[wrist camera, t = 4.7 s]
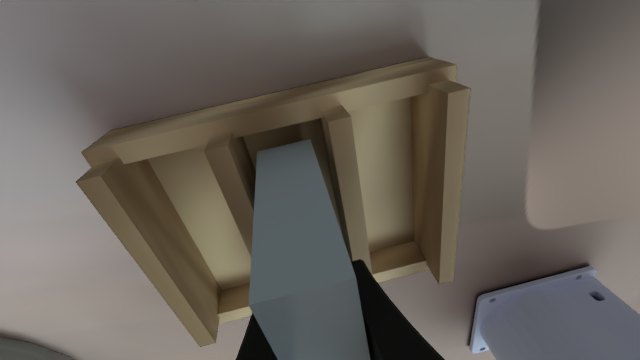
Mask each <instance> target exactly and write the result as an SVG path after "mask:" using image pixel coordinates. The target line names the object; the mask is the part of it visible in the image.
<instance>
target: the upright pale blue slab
mask: <svg viewBox="0 0 640 360" xmlns="http://www.w3.org/2000/svg"><path fill="white" fill-rule="evenodd" d="M249 307H250V309H251V311H252V312H253V314H254V316H255V318H256V320H257V322H258V324H259V326H260V327H261V329H262V331H263V333H264V335H265V337H266V339H267V340H268V342H269V344H270V346H271V348H272V350H273V352H274V354H275V355H276V357H277V359H278V360H370V355H369V349H368V343H367V337H366V332H365V326H364V320H363V315H362V309H361V303H360V297H359V292H358V286H357V280H356V276H355V273H354V270H353V267H352V264H351V261H350V258H349V255H348V252H347V249H346V246H345V242H344V239H343V236H342V233H341V230H340V227H339V224H338V221H337V218H336V215H335V212H334V209H333V206H332V203H331V200H330V197H329V194H328V191H327V188H326V185H325V182H324V179H323V176H322V173H321V170H320V167H319V164H318V161H317V158H316V155H315V152H314V149H313V146H312V143H311V140H310V139H308V140H303V141H299V142H295V143H291V144H287V145H282V146H278V147H274V148H270V149H266V150H261V151H257V164H256V182H255V200H254V218H253V236H252V253H251V271H250V289H249Z"/></svg>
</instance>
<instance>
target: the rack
mask: <svg viewBox="0 0 640 360" xmlns="http://www.w3.org/2000/svg"><path fill="white" fill-rule="evenodd" d="M456 71H457V64H453V63H449V62H446V61H442V60H438V59H435V58H431V57H426V58H422V59H418V60H413V61H409V62H405V63H400V64H396V65H392V66H387V67H383V68H379V69H375V70H370V71H366V72H362V73H357V74H353V75H349V76H344V77H340V78H336V79H331V80H327V81H323V82H318V83H314V84H310V85H305V86H301V87H297V88H292V89H288V90H284V91H279V92H275V93H271V94H266V95H262V96H258V97H254V98H249V99H245V100H241V101H236V102H232V103H228V104H223V105H219V106H215V107H210V108H206V109H202V110H197V111H193V112H189V113H184V114H180V115H176V116H171V117H167V118H163V119H158V120H154V121H150V122H146V123H141V124H137V125H133V126H128V127H124V128H120V129H115V130H111V131H109V132H108V133H106V134H105V135H104V136H102V137H101V138H100V139H98V140H97V141H96V142H94V143H93V144H92V145H90V146H89V147H87V148H86V149H85V150H83V151H82V152H81V153H82V154H83V156H84V157H85V159H86V160H87V162H88V163H89V164H90V166H91V167H92V168H91V169H90V170H89V171H87V172H86V173H85V174H84V175H83V176H82V177H80V178H79V179H78V180H77V181H76V183H77V184H78V186H79V187H80V188H81V190H82V191H83V192H84V194H85V195H86V196H87V198H88V199H89V200H90V202H91V203H92V204H93V206H94V207H95V208H96V210H97V211H98V212H99V214H100V215H101V216H102V218H103V219H104V220H105V221H106V223H107V224H108V225H109V227H110V228H111V229H112V231H113V232H114V233H115V235H116V236H117V237H118V239H119V240H120V241H121V243H122V244H123V245H124V247H125V248H126V249H127V251H128V252H129V253H130V255H131V256H132V257H133V259H134V260H135V261H136V263H137V264H138V265H139V267H140V268H141V269H142V271H143V272H144V273H145V275H146V276H147V277H148V279H149V280H150V281H151V283H152V284H153V285H154V287H155V288H156V289H157V291H158V292H159V293H160V295H161V296H162V297H163V299H164V300H165V301H166V302H167V304H168V305H169V306H170V308H171V309H172V310H173V312H174V313H175V314H176V316H177V317H178V318H179V320H180V321H181V322H182V324H183V325H184V326H185V328H186V329H187V330H188V332H189V333H190V334H191V336H192V337H193V338H194V340H195V341H196V342H197V344H198V345H199V346H200V347H202V346H206V345H209V344H213V343H216V337H217V331H218V325H219V324H221V323H225V322H229V321H233V320H236V319H240V318H244V317H248V316H251V315H252V311H251V309H250V307H249V289H250V271H251V253H252V236H253V218H254V200H255V182H256V164H257V151H261V150H266V149H270V148H274V147H278V146H282V145H287V144H291V143H295V142H299V141H303V140H308V139H310V140H311V143H312V146H313V149H314V152H315V155H316V158H317V161H318V164H319V167H320V170H321V173H322V176H323V179H324V182H325V185H326V188H327V191H328V194H329V197H330V200H331V203H332V206H333V209H334V212H335V215H336V218H337V221H338V224H339V227H340V230H341V233H342V236H343V239H344V242H345V246H346V249H347V252H348V255H349V258H350V261H355V260H359V259H361V260H363V261H364V262H365V264H366V266H367V268H368V269H369V271H370V272H371V274H372V276H373V277H374V278H375V280H376V281H377V283H379V282H383V281H387V280H391V279H395V278H398V277H402V276H406V275H410V274H414V273H418V272H422V271H425V270H429V269H430V271H431V272H432V274H433V275H434V277H435V279H436V280H437V282H438V283H439V284H443V283H446V282H450V281H454V273H455V262H456V250H457V239H458V227H459V216H460V204H461V193H462V182H463V170H464V159H465V147H466V136H467V124H468V113H469V102H470V90H471V88H469V87H466V86H463V85H461V84H458V83H456Z"/></svg>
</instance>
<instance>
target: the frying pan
mask: <svg viewBox="0 0 640 360" xmlns="http://www.w3.org/2000/svg"><path fill="white" fill-rule="evenodd" d="M0 360H74V359H73V358H71V357H68V356H65V355H63V354H60V353H57V352H54V351H52V350H49V349H46V348H44V347H41V346H38V345H36V344H33V343H28V342H22V341H17V340H12V339H7V338H2V337H0Z"/></svg>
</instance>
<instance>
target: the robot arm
mask: <svg viewBox="0 0 640 360" xmlns="http://www.w3.org/2000/svg"><path fill="white" fill-rule="evenodd" d="M351 264H352V267H353V270H354V273H355V276H356V280H357V286H358V292H359V297H360V303H361V309H362V315H363V320H364V326H365V332H366V337H367V343H368V349H369V355H370V360H445V359H444V358H443V357H442V356H441V355H440V354H439V353H438V352H437V351H436V350H435V349H434V348H433V347H432V346H431V345H430V344H429V343H428V342H427V341H426V340H425V339H424V338H423V337H422V336H421V335H420V333H419V332H418V331H417V330H416V329H415V328H414V327H413V326H412V325H411V324H410V322H409V321H408V320H407V319H406V318H405V317H404V316H403V314H402V313H401V312H400V311H399V310H398V308H397V307H396V306H395V305H394V303H393V302H392V301H391V300H390V299H389V297H388V296H387V295H386V293H385V292H384V291H383V289H382V288H381V287H380V285H379V284H378V283H377V281H376V280H375V278H374V277H373V276H372V274H371V272H370V271H369V269H368V268H367V266H366V264H365V262H364V261H363V260H361V259H359V260H355V261H351ZM596 273H597V270H596V269H595V268H593V267H592V266H588V267H584V268H580V269H576V270H573V271H569V272H565V273H561V274H558V275H554V276H550V277H546V278H542V279H539V280H535V281H531V282H527V283H523V284H520V285H516V286H512V287H508V288H505V289H501V290H497V291H493V292H489V293H486V294H482V295H480V296H479V297H478V299H477V304H476V310H475V317H474V323H473V329H472V335H471V342H470V351H471V352H472V353H474V354H475V353H480V352H483V351H487V350H491V352H492V354H493V355H494V357H495V358H496V360H640V314H638V313H637V312H636V311H635V310H633V309H632V308H631V307H630V306H628V305H627V304H626V303H625V302H624V301H622V300H621V299H620V298H619V297H617V296H616V295H615V294H614V293H612V292H611V291H610V290H609V289H608V288H606V287H605V286H604V285H603V284H601V283H600V282H599V281H598V280H596V279H595V278H594V277H595V275H596ZM236 360H278V359H277V357H276V355H275V354H274V352H273V350H272V348H271V346H270V344H269V342H268V340H267V339H266V337H265V335H264V333H263V331H262V329H261V327H260V326H259V324H258V322H257V320H256V318H255V316H254V314H253V312H252V315H251V318H250V321H249V324H248V327H247V330H246V333H245V336H244V339H243V341H242V344H241V347H240V350H239V353H238V355H237V358H236Z"/></svg>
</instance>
